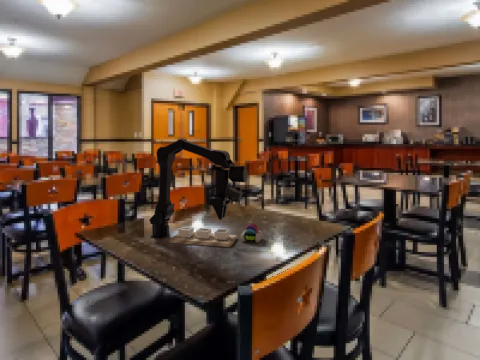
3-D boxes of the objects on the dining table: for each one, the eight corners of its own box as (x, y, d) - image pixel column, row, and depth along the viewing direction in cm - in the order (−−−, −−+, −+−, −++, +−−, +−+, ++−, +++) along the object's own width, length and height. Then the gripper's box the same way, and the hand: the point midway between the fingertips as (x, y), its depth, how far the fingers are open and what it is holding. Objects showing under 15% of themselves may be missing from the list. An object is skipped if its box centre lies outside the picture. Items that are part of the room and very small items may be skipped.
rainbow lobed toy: (263, 238, 151) (264, 222, 150) (259, 244, 142) (259, 227, 141) (245, 236, 154) (245, 220, 153) (239, 243, 144) (239, 226, 143)
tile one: (178, 236, 147) (178, 229, 147) (182, 233, 152) (182, 226, 152) (189, 237, 146) (189, 230, 146) (193, 234, 151) (193, 227, 150)
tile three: (214, 239, 144) (214, 231, 143) (217, 235, 148) (217, 228, 148) (226, 239, 143) (226, 232, 142) (229, 236, 147) (229, 229, 147)
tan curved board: (169, 242, 144) (169, 239, 144) (180, 234, 156) (180, 231, 156) (229, 247, 139) (229, 243, 139) (236, 238, 150) (236, 235, 150)
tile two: (196, 237, 145) (196, 230, 145) (200, 234, 150) (200, 227, 150) (207, 238, 144) (207, 231, 144) (211, 235, 149) (211, 228, 149)
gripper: (235, 185, 132) (235, 225, 134) (245, 179, 150) (245, 214, 152) (207, 184, 134) (207, 223, 136) (220, 178, 152) (220, 213, 154)
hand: (221, 218), depth 144 cm, fingers open, 4 cm apart
